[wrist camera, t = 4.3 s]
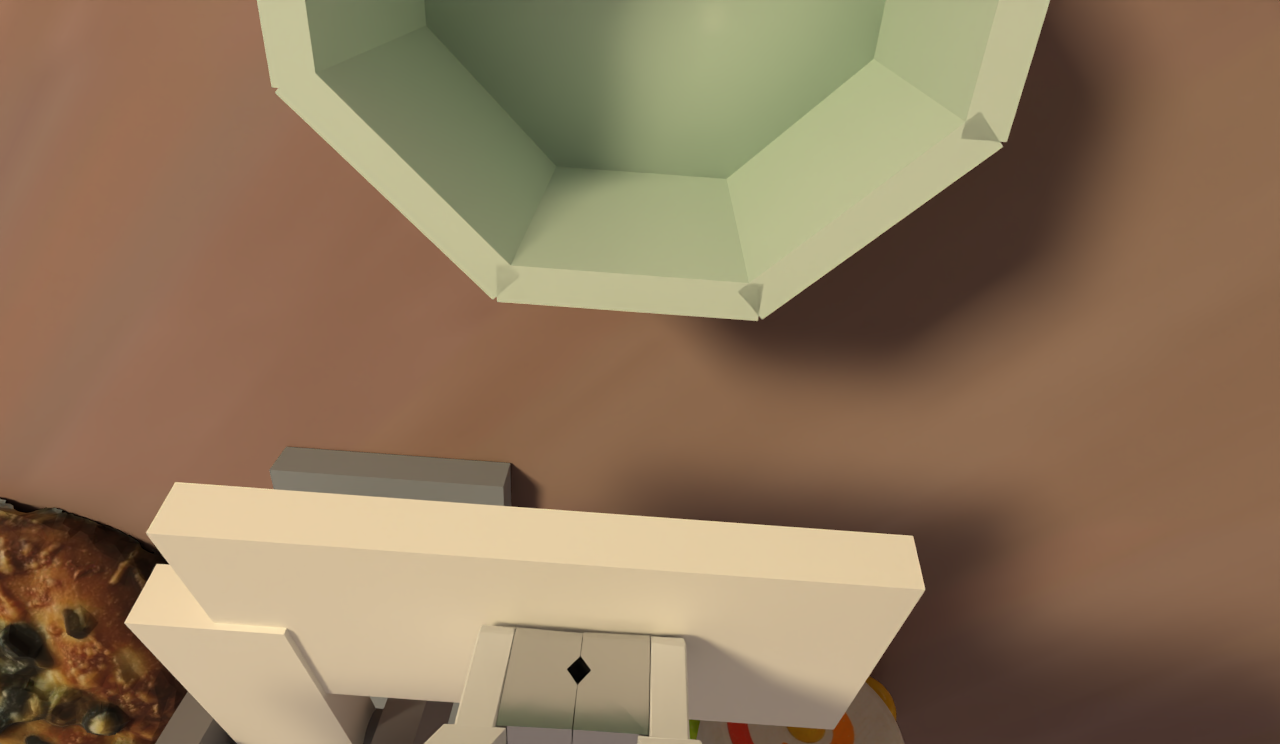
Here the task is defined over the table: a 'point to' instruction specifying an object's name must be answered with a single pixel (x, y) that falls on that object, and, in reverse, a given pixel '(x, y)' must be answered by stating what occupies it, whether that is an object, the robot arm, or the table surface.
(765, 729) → the roller toy
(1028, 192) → the table surface
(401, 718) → the catapult base
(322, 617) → the lever
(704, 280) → the cup
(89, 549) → the bread roll
